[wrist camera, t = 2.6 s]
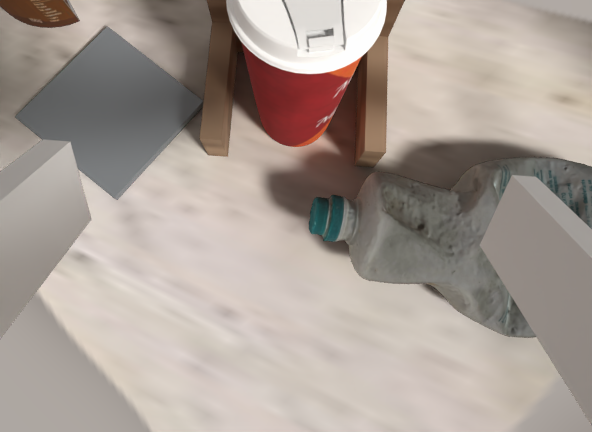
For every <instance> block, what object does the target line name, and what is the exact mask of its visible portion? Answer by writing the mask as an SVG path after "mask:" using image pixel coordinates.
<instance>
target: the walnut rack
mask: <svg viewBox="0 0 592 432" xmlns="http://www.w3.org/2000/svg"><path fill="white" fill-rule="evenodd" d="M404 1H405V0H387V10H386V17H385V22H384V25H383V27H382V30H381V32H380V35H379V36H378V38H377V40H376V41H375V43H374V44H373V45H372V47H371V48H370V49H369V50H368V51H367V52H366V53H365V54H364V55H363V56H362V57H361V59H360V61H359V63H358V84H357V113H356V143H355V166H364V167H374V166H375V165H376V164H377V162H378V161H379V160H380V159H381V158H382V156H383V155H384V154H385V153H386V121H387V69H388V36H389V34H390V32H391V29H392V27H393V25H394V23H395V21H396V18H397V16H398V14H399V12H400V10H401V7H402V5H403V3H404ZM207 2H208V7H209V11H210V15H211V19H212V29H211V38H210V47H209V56H208V65H207V75H206V84H205V93H204V102H203V111H202V121H201V130H200V140H201V142H202V144H203V146H204V148H205V150H206V152H207V153H208V155H213V156H227V157H228V149H229V138H230V128H231V117H232V107H233V96H234V85H235V75H236V64H237V54H238V52H244V51H243V47H242V43H241V41H240V39H239V38H238V36H237V35H236V33H235V31H234V29H233V27H232V25H231V22H230V20H229V16H228V12H227V4H226V0H207Z"/></svg>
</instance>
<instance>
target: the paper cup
mask: <svg viewBox="0 0 592 432" xmlns="http://www.w3.org/2000/svg"><path fill="white" fill-rule="evenodd" d="M226 4H227V12H228V16H229V20H230V22H231V25H232V27H233V29H234V31H235V33H236V35H237V36H238V38H239V39H240V41H241V43H242V47H243V51H244V55H245V60H246V64H247V68H248V72H249V76H250V81H251V85H252V89H253V93H254V97H255V101H256V105H257V109H258V113H259V116H260V119H261V122H262V125H263V127H264V129H265V131H266V132H267V133H268V135H269V136H270V137H271V138H272V139H274V140H275V141H277V142H278V143H280V144H283V145H286V146H291V147H300V146H305V145H308V144H310V143H312V142H314V141H316V140H317V139H318V138H319V137H320V136H321V135H322V134H323V133H324V131H325V130H326V128H327V126H328V125H329V123H330V121H331V119H332V117H333V115H334V113H335V111H336V109H337V107H338V105H339V103H340V101H341V99H342V97H343V95H344V93H345V91H346V88H347V86H348V84H349V82H350V80H351V78H352V76H353V74H354V72H355V70H356V68H357V66H358V63H359V61H360V59H361V57H362V56H363V55H364V54H365V53H366V52H367V51H368V50H369V49H370V48H371V47H372V45H373V44H374V43H375V41H376V40H377V38H378V36H379V35H380V32H381V30H382V27H383V25H384V22H385V17H386V10H387V0H226Z"/></svg>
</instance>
